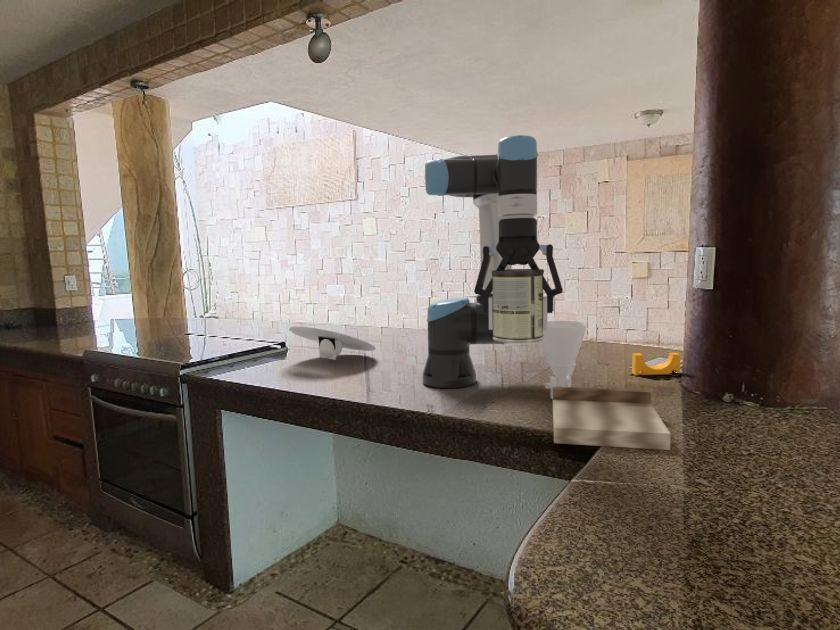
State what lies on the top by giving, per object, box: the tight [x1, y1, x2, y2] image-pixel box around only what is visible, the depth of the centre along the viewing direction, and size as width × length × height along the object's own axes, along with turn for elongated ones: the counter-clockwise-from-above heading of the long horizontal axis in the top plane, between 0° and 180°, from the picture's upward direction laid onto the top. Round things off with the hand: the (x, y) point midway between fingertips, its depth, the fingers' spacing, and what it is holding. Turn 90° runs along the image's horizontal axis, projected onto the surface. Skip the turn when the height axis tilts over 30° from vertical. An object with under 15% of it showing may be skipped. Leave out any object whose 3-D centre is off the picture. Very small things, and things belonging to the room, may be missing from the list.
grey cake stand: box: [288, 326, 377, 361], centre depth 182 cm, size 28×19×27 cm
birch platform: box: [552, 386, 672, 451], centre depth 105 cm, size 20×20×6 cm
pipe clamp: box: [631, 352, 681, 376], centre depth 146 cm, size 12×4×6 cm, turn 87°
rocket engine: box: [540, 320, 587, 400], centre depth 126 cm, size 12×12×18 cm
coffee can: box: [492, 268, 545, 344], centre depth 106 cm, size 10×10×14 cm
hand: (518, 329), depth 106 cm, fingers closed on coffee can, 10 cm apart
